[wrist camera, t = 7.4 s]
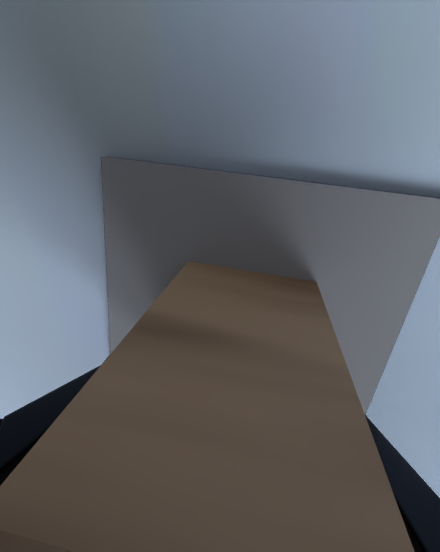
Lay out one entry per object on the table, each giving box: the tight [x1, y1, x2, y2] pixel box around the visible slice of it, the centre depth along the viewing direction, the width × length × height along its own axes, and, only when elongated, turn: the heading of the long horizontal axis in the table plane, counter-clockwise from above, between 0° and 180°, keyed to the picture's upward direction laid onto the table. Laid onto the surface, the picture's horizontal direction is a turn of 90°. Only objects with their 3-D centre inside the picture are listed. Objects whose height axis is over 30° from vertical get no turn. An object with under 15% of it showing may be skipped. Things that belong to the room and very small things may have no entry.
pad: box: [101, 157, 440, 414], centre depth 12 cm, size 12×12×1 cm
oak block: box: [0, 261, 414, 552], centre depth 8 cm, size 5×5×9 cm
